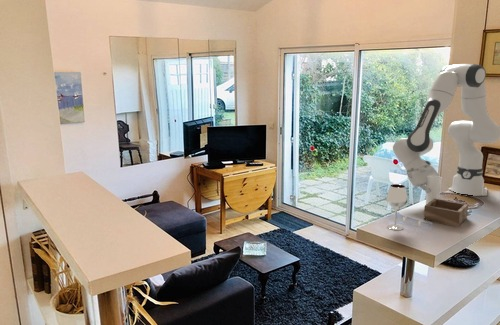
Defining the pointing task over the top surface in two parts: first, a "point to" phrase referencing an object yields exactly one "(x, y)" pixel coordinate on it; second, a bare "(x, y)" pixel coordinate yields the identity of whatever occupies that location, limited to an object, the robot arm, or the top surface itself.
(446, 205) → the walnut crate
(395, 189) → the wineglass
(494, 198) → the top surface
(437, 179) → the white rectangular block
